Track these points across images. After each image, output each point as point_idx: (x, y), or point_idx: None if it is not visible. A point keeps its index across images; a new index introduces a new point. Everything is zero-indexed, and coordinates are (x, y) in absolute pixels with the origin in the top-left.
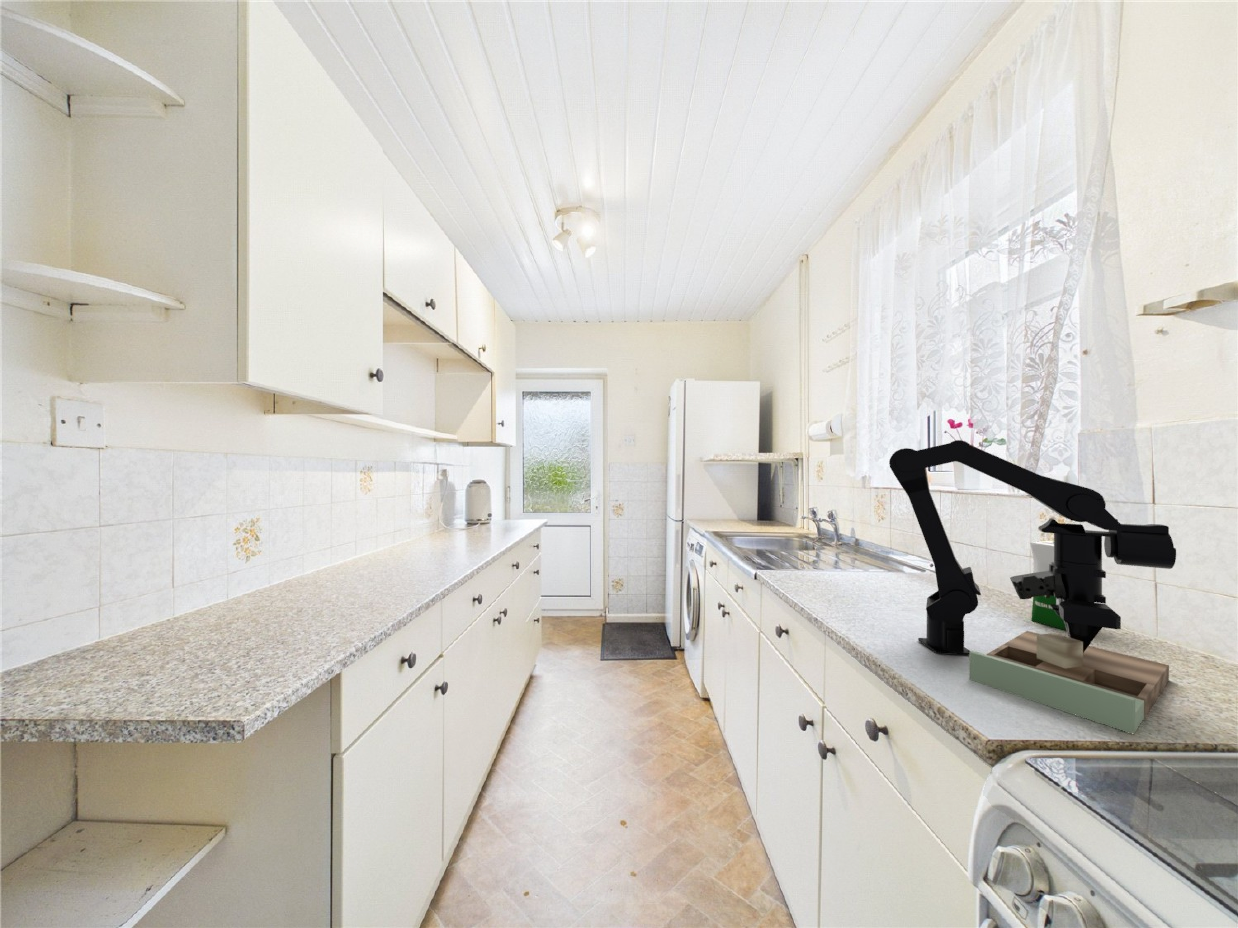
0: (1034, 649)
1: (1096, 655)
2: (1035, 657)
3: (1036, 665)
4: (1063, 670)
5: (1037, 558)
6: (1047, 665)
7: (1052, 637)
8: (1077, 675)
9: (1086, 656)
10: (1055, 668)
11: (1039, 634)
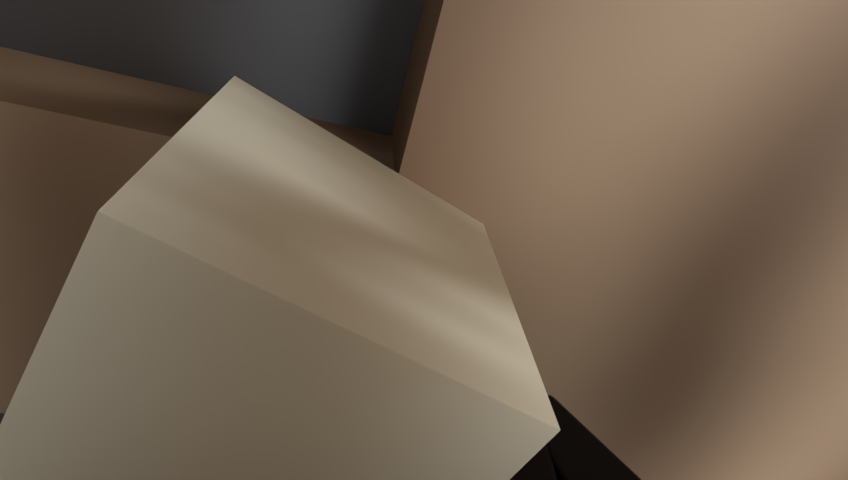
0: (601, 52)
1: (733, 453)
2: (421, 53)
3: (414, 47)
4: (33, 290)
5: None
6: (48, 173)
7: (177, 423)
8: (4, 371)
9: (659, 411)
10: (21, 235)
11: (177, 252)
